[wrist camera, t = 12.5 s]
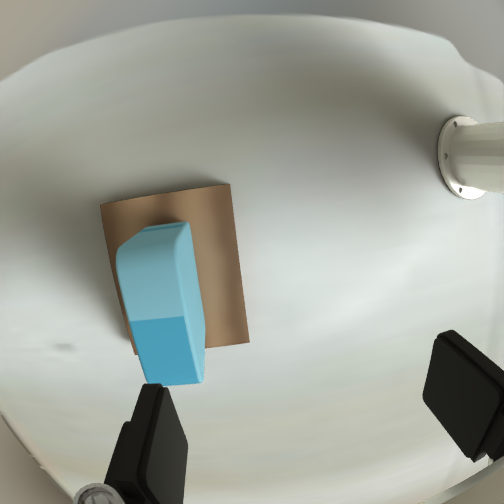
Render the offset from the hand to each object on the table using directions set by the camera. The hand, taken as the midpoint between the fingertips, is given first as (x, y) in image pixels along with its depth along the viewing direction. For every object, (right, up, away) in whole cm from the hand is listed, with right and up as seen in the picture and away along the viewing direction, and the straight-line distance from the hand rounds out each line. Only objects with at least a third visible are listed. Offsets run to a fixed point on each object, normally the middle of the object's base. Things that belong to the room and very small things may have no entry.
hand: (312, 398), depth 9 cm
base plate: (-10, +3, +26) cm, 28 cm away
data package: (-10, +2, +24) cm, 26 cm away
